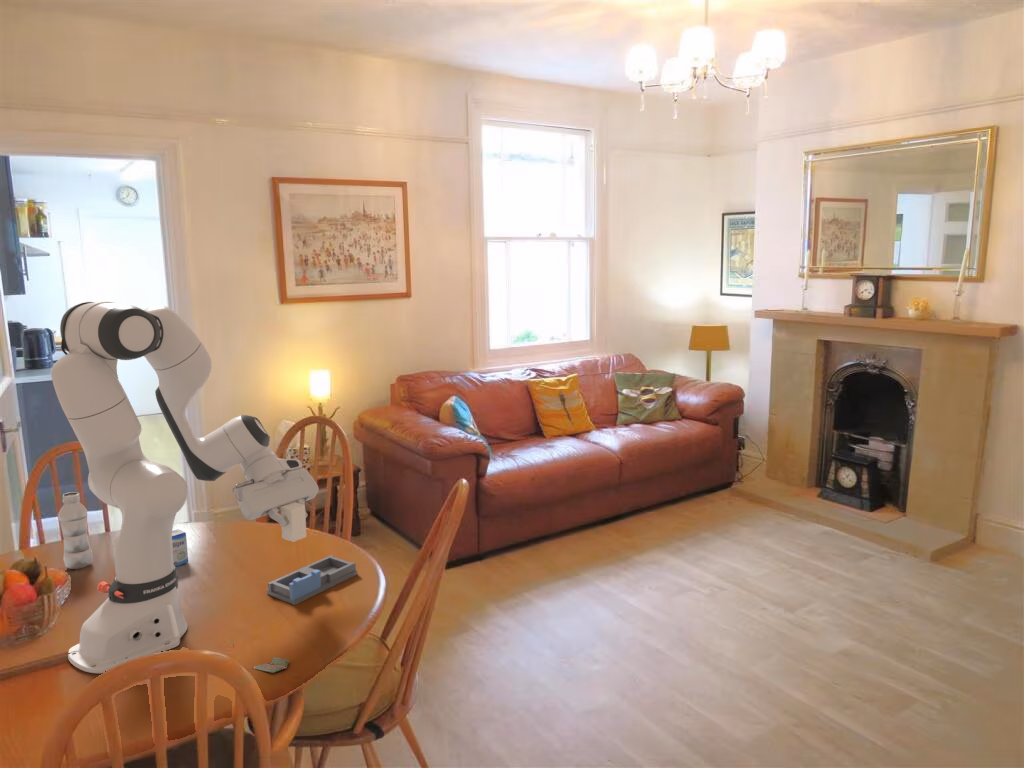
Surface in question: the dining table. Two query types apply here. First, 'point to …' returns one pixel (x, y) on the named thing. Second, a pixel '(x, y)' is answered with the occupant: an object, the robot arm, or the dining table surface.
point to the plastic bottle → (74, 532)
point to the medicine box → (179, 547)
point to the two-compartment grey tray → (311, 579)
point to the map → (273, 665)
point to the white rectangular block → (294, 521)
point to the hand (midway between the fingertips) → (295, 521)
